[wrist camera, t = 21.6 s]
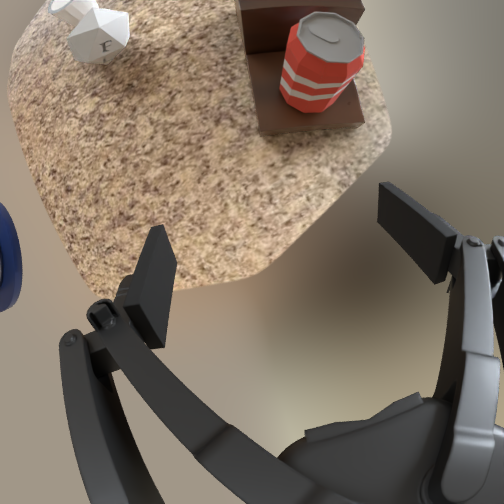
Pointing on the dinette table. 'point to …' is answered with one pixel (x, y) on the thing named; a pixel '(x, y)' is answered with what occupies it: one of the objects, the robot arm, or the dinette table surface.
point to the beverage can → (320, 61)
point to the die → (99, 36)
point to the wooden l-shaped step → (272, 60)
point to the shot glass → (71, 10)
